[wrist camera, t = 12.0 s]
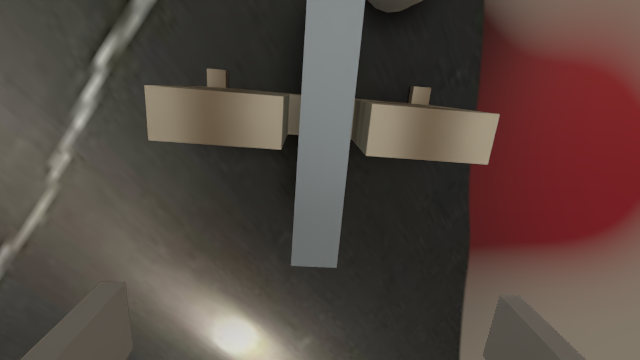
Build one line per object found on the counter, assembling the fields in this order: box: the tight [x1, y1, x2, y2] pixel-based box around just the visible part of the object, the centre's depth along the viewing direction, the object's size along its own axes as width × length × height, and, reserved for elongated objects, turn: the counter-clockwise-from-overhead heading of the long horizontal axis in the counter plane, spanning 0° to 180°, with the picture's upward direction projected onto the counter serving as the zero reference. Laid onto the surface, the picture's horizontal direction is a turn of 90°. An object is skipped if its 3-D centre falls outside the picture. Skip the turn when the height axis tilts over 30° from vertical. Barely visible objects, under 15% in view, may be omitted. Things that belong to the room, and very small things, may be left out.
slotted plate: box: [291, 0, 365, 268], centre depth 24 cm, size 18×3×12 cm, turn 176°
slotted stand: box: [144, 69, 499, 164], centre depth 23 cm, size 20×6×12 cm, turn 85°
